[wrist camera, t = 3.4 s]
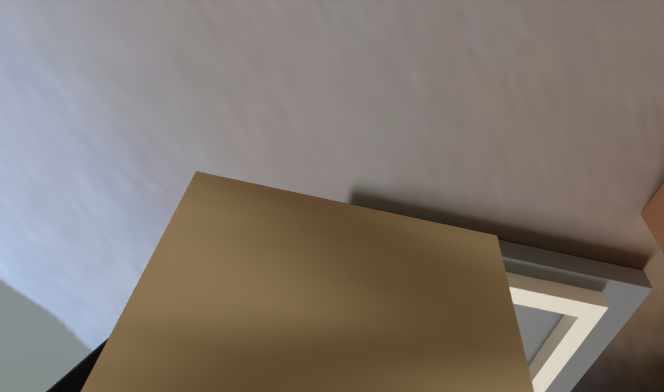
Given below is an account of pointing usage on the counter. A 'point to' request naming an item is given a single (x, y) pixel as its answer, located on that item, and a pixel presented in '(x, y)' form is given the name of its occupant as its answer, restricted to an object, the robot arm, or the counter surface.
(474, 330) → the maple block
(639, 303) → the baseplate
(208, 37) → the counter surface
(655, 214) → the terracotta block
